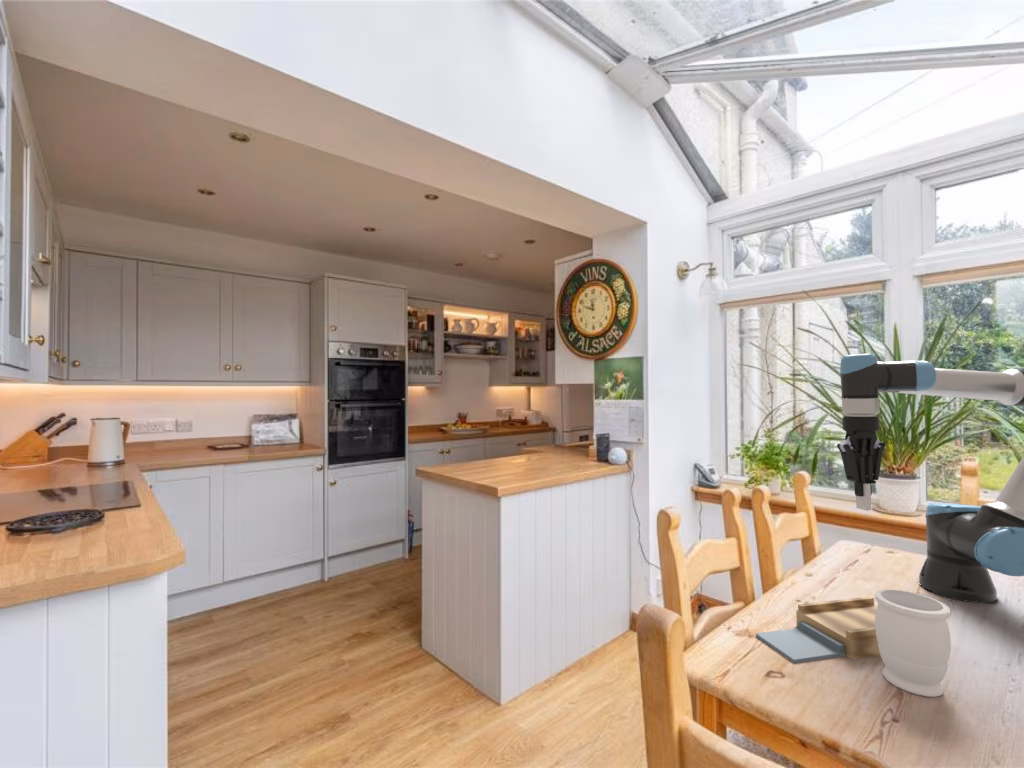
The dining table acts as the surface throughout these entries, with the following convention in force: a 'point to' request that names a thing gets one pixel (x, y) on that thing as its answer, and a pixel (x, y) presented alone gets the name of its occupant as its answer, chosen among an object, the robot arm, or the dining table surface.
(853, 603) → the slide box
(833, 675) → the dining table surface
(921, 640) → the jar
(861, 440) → the robot arm
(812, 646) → the cover plate
